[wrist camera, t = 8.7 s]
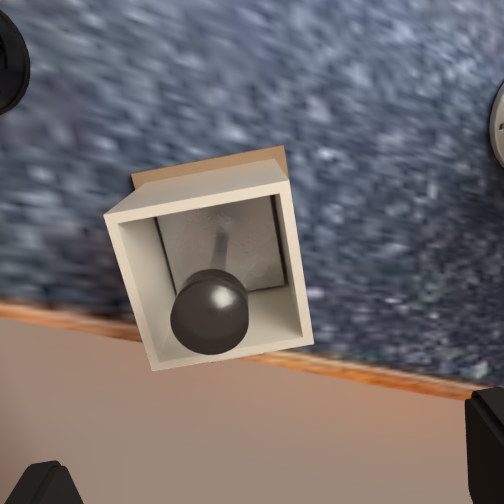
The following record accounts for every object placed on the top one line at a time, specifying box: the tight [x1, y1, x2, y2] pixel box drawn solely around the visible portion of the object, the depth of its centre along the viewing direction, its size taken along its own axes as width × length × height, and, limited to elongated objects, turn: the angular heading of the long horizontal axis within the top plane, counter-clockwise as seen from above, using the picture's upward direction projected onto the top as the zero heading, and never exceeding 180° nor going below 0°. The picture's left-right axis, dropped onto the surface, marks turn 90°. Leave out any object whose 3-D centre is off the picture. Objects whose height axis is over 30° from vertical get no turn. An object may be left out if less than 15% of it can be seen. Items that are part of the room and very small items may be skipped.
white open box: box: [104, 144, 314, 372], centre depth 34 cm, size 14×14×13 cm
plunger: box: [157, 195, 285, 355], centre depth 30 cm, size 10×10×15 cm
